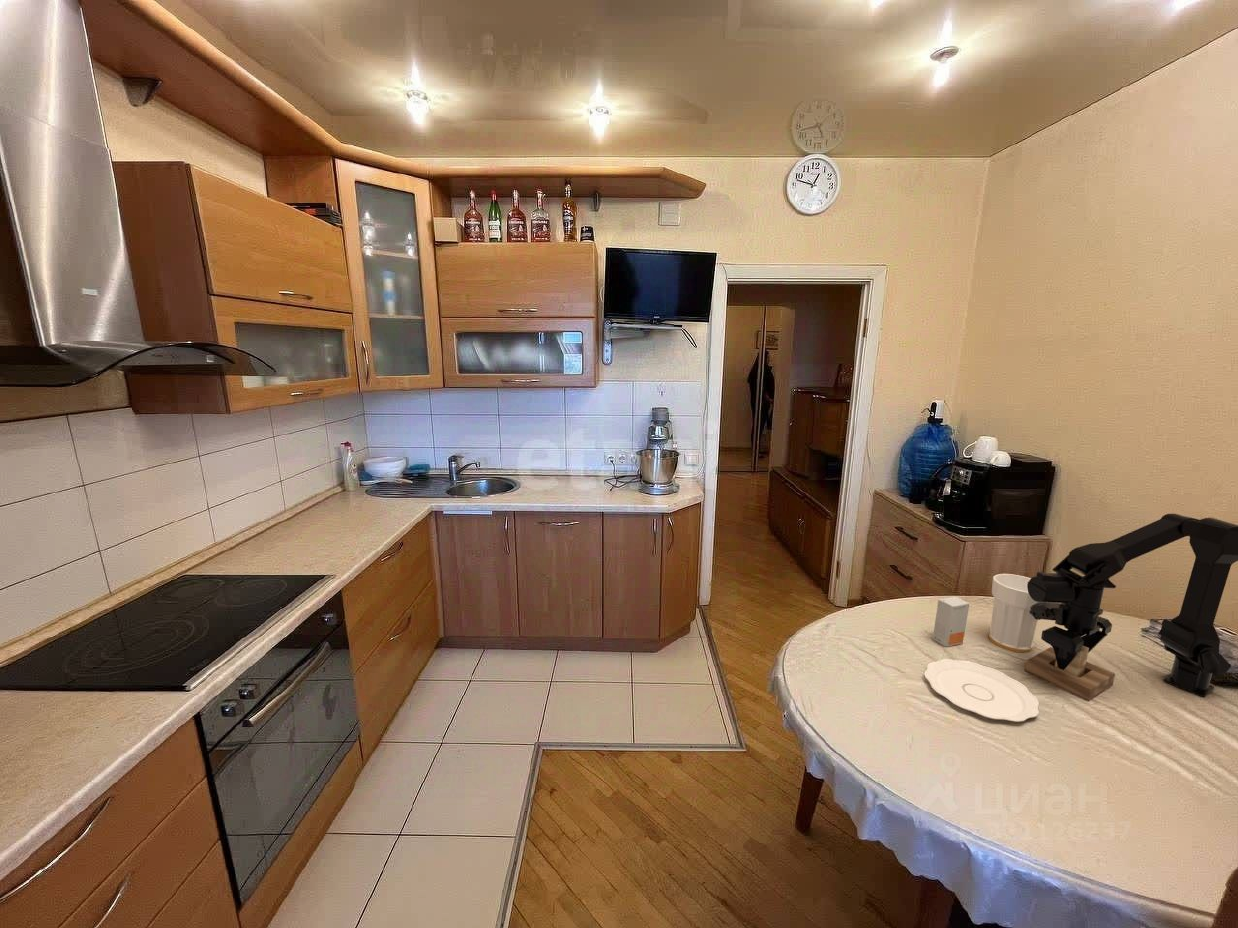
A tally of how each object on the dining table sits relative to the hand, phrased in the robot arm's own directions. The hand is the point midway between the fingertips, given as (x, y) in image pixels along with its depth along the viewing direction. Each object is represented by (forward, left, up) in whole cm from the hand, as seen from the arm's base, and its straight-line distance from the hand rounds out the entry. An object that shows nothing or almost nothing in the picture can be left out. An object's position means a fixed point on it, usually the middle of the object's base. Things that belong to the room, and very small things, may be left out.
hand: (1070, 662), depth 113 cm
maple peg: (0, 0, -4) cm, 4 cm away
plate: (+24, -7, -4) cm, 25 cm away
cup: (-5, -14, -4) cm, 15 cm away
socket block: (0, 0, -4) cm, 4 cm away
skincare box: (+9, -22, -4) cm, 24 cm away
